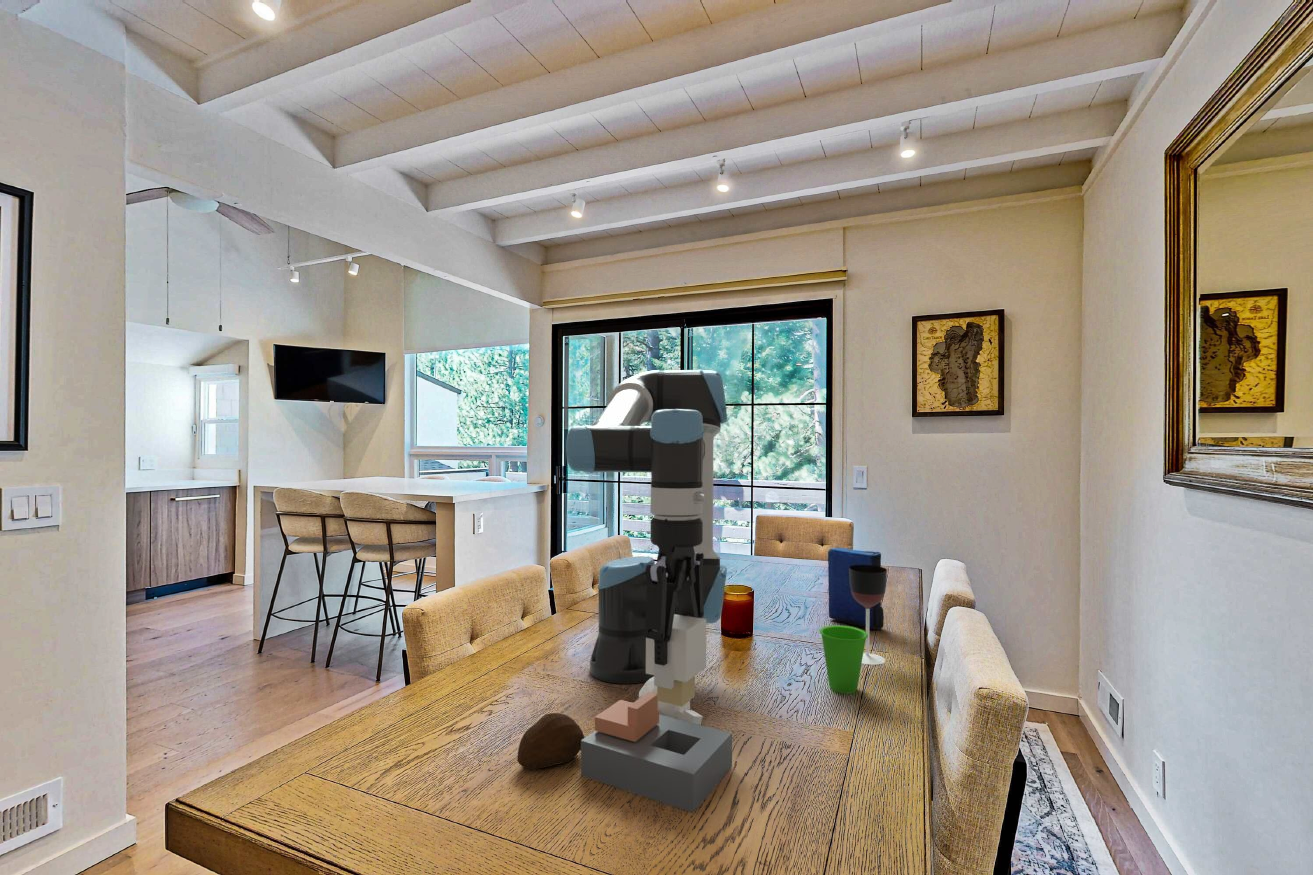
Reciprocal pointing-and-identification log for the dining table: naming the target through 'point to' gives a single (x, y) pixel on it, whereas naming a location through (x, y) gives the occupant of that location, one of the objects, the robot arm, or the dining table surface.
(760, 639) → the dining table surface
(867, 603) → the wineglass
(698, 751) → the socket board
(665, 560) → the robot arm
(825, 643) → the cup
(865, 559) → the book
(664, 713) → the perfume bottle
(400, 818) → the dining table surface
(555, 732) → the potato
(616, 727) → the orange l-shaped block
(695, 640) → the plug
